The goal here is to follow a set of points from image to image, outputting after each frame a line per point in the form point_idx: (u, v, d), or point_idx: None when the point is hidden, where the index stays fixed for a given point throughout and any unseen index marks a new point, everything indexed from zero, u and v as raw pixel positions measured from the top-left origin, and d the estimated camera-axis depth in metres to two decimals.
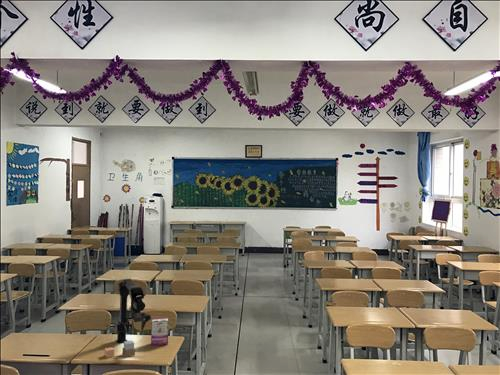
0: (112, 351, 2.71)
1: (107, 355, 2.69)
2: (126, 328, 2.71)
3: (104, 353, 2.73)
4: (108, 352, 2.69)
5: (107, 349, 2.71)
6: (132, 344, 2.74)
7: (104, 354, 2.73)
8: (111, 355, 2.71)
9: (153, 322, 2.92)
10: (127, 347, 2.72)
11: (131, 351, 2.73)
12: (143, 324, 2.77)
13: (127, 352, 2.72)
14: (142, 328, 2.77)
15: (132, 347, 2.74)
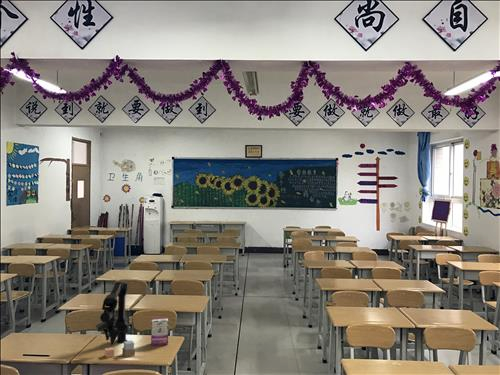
0: (112, 351, 2.71)
1: (107, 355, 2.69)
2: (105, 335, 2.76)
3: (104, 353, 2.73)
4: (108, 352, 2.69)
5: (107, 349, 2.71)
6: (132, 344, 2.74)
7: (104, 354, 2.73)
8: (111, 355, 2.71)
9: (153, 322, 2.92)
10: (127, 347, 2.72)
11: (131, 351, 2.73)
12: None
13: (127, 352, 2.71)
14: None
15: (132, 347, 2.74)
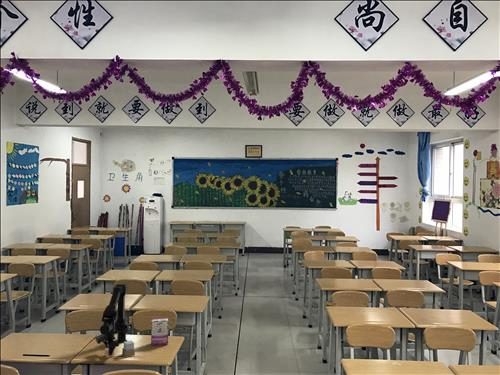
0: None
1: (107, 355, 2.69)
2: None
3: (104, 353, 2.73)
4: (108, 352, 2.69)
5: (107, 349, 2.71)
6: (132, 344, 2.74)
7: (104, 354, 2.73)
8: (111, 355, 2.71)
9: (153, 322, 2.92)
10: (127, 347, 2.72)
11: (131, 351, 2.73)
12: None
13: (127, 352, 2.71)
14: None
15: (132, 347, 2.74)
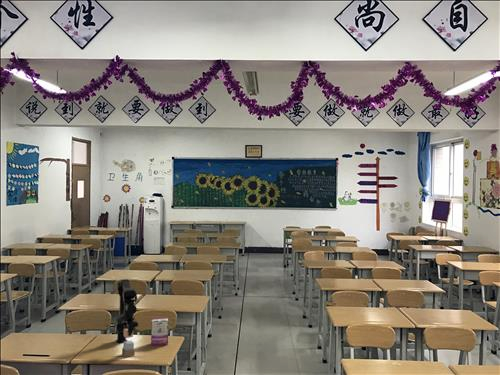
0: None
1: (126, 335, 2.72)
2: (124, 328, 2.77)
3: None
4: (127, 332, 2.72)
5: (126, 329, 2.74)
6: (132, 344, 2.73)
7: None
8: None
9: (153, 322, 2.92)
10: (127, 347, 2.72)
11: (131, 351, 2.73)
12: None
13: (127, 352, 2.71)
14: (128, 333, 2.72)
15: (131, 347, 2.73)
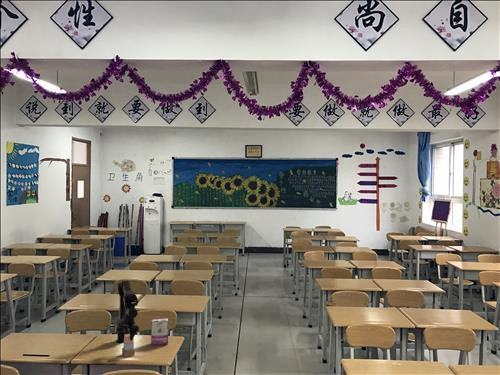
0: None
1: (127, 341, 2.72)
2: (124, 331, 2.79)
3: (124, 339, 2.75)
4: (128, 338, 2.72)
5: (127, 335, 2.74)
6: (132, 344, 2.73)
7: (124, 340, 2.75)
8: (131, 341, 2.73)
9: (153, 322, 2.92)
10: (127, 347, 2.72)
11: (131, 351, 2.73)
12: None
13: (127, 352, 2.71)
14: None
15: (132, 347, 2.73)
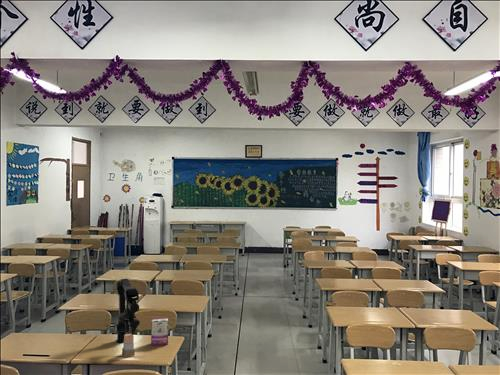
0: (132, 337, 2.74)
1: (127, 341, 2.72)
2: (125, 325, 2.83)
3: (124, 339, 2.75)
4: (128, 338, 2.72)
5: (127, 335, 2.74)
6: (132, 344, 2.73)
7: (124, 340, 2.75)
8: (131, 341, 2.73)
9: (153, 322, 2.92)
10: (126, 347, 2.71)
11: (131, 351, 2.73)
12: None
13: (127, 352, 2.71)
14: None
15: (131, 347, 2.73)
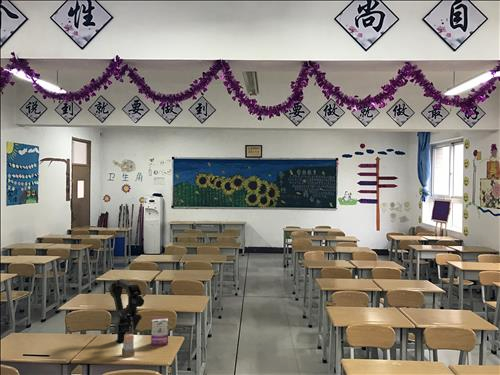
0: (132, 337, 2.74)
1: (127, 341, 2.72)
2: (127, 320, 2.92)
3: (124, 339, 2.75)
4: (128, 338, 2.72)
5: (127, 335, 2.74)
6: (131, 344, 2.73)
7: (124, 340, 2.75)
8: (131, 341, 2.73)
9: (153, 322, 2.92)
10: (126, 347, 2.71)
11: (131, 351, 2.73)
12: None
13: (127, 352, 2.71)
14: (133, 326, 2.84)
15: (131, 347, 2.73)
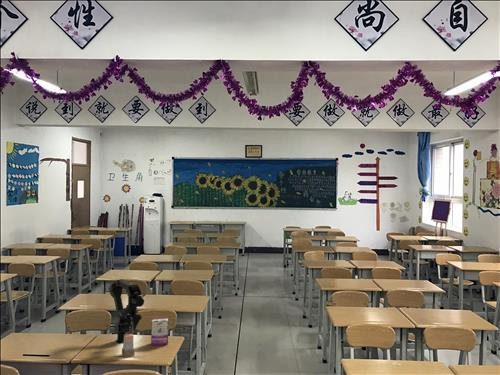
0: (132, 337, 2.74)
1: (127, 341, 2.72)
2: (127, 320, 2.92)
3: None
4: (128, 338, 2.72)
5: (126, 335, 2.74)
6: (131, 344, 2.73)
7: None
8: (130, 341, 2.73)
9: (153, 322, 2.92)
10: (126, 347, 2.71)
11: (130, 351, 2.72)
12: None
13: (127, 352, 2.71)
14: (133, 326, 2.84)
15: (131, 347, 2.73)
